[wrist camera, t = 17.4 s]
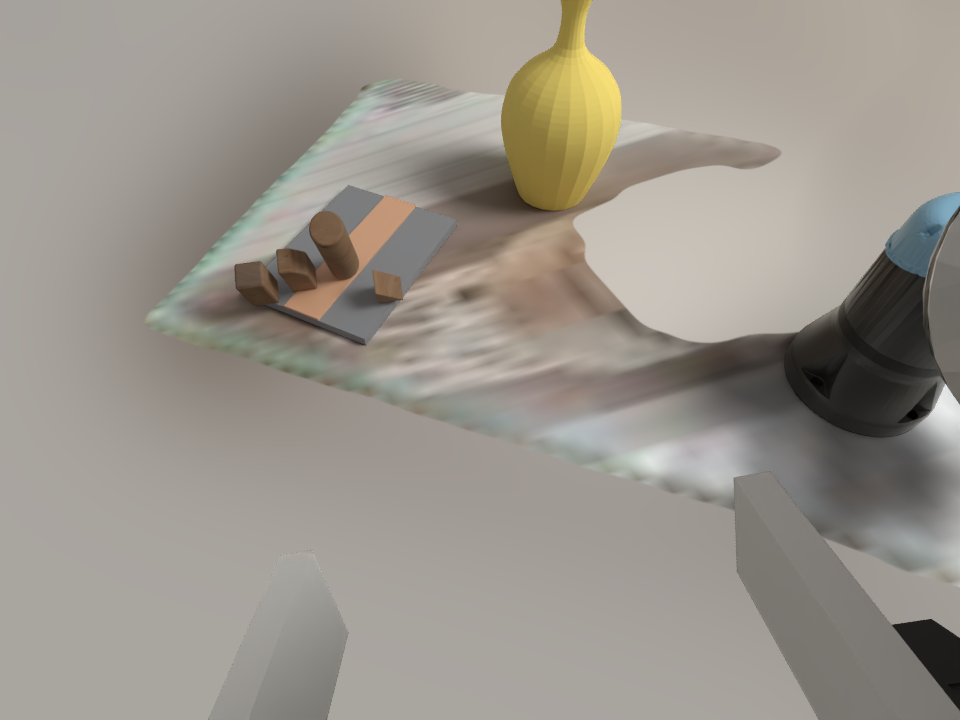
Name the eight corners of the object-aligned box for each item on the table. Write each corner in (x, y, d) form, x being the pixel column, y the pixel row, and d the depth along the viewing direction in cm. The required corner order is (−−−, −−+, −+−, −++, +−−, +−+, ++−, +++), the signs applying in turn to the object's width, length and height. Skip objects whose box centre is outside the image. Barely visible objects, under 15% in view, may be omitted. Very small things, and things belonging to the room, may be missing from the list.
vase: (497, 157, 90) (505, -48, 68) (597, 159, 91) (638, -46, 68) (498, 223, 81) (509, 8, 58) (610, 224, 81) (664, 10, 58)
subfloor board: (456, 226, 80) (456, 217, 79) (366, 345, 67) (364, 337, 66) (349, 191, 85) (348, 183, 84) (245, 296, 72) (241, 288, 70)
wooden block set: (260, 324, 70) (226, 296, 60) (255, 260, 72) (222, 222, 62) (404, 304, 71) (395, 273, 61) (396, 241, 73) (386, 202, 63)
